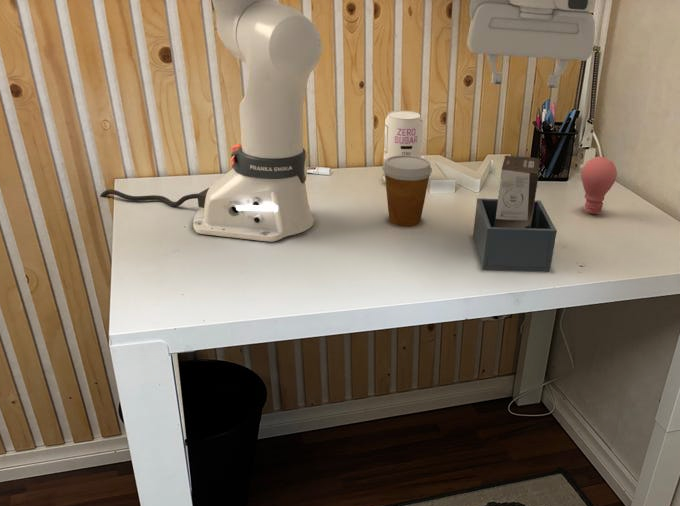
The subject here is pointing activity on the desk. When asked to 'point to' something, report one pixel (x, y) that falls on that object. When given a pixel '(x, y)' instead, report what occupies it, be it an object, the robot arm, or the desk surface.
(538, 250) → the open box
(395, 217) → the disposable coffee cup
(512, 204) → the coffee box
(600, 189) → the light bulb
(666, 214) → the desk surface
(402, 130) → the supplement can
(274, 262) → the desk surface
